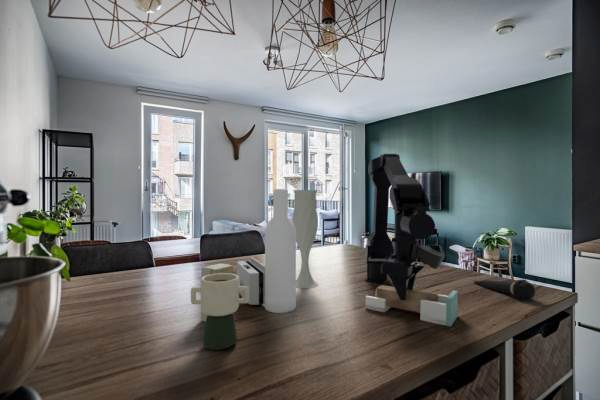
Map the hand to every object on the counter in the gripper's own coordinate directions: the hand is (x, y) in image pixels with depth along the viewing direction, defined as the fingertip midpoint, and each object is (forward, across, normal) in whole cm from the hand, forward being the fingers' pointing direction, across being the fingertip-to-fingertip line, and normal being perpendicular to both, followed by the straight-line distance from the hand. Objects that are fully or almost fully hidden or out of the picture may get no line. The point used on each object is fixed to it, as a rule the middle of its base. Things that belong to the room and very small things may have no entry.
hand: (405, 297), depth 83 cm
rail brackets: (+4, 0, 0) cm, 4 cm away
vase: (+4, +6, +34) cm, 35 cm away
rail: (+2, 0, 0) cm, 2 cm away
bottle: (+4, -16, +27) cm, 31 cm away
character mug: (+4, -39, +23) cm, 46 cm away
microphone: (+4, +34, -18) cm, 38 cm away
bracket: (+4, -14, +38) cm, 41 cm away
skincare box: (+4, -30, +34) cm, 46 cm away
